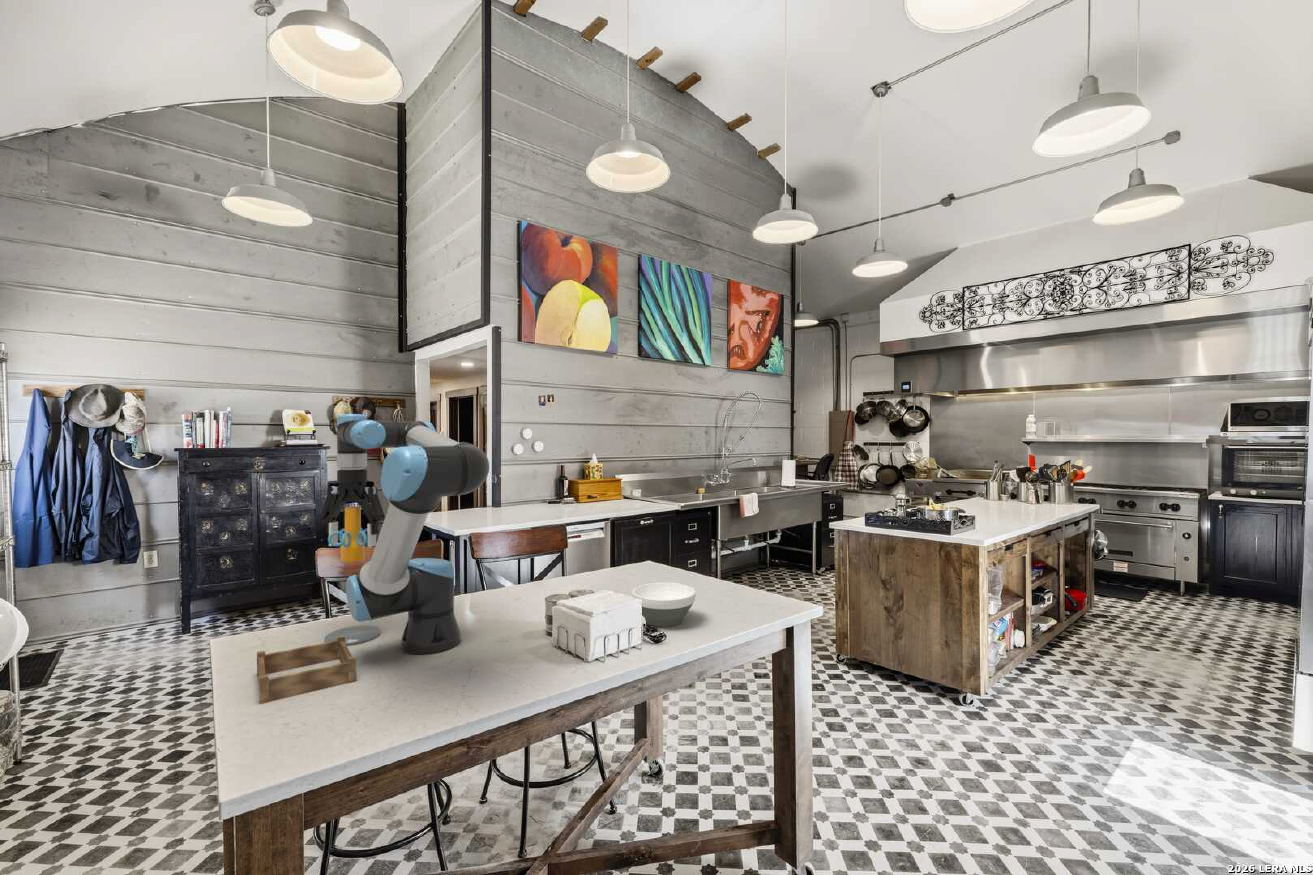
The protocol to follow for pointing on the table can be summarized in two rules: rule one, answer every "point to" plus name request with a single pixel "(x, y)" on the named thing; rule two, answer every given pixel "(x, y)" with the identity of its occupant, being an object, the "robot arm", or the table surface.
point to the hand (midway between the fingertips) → (352, 545)
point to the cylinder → (351, 536)
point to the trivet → (355, 634)
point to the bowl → (664, 602)
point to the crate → (305, 679)
